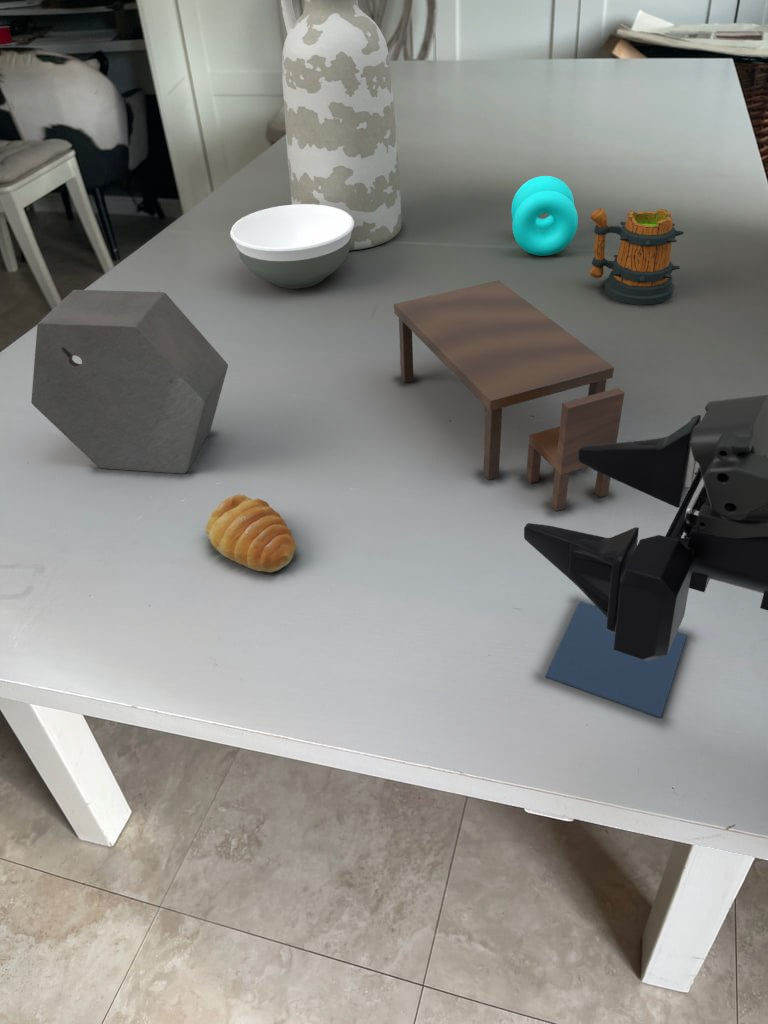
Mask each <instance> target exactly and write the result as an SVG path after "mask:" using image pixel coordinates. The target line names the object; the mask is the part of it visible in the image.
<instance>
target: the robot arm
mask: <svg viewBox="0 0 768 1024" xmlns="http://www.w3.org/2000/svg"><path fill="white" fill-rule="evenodd" d="M704 409H705V413H704V415H703V416H702V414H697V415H694V416H693V417H692V418H691V419H690V420H689V421H688V422H687V423H685V425H683V426H681V427H680V428H679V429H677V430H676V431H674V432H673V433H671V434H670V435H668V436H665V437H664V436H663V437H659V438H651V439H645V440H636V441H625V442H617V443H611V444H600V445H589V446H582V447H581V448H580V449H579V453H578V460H579V462H581V463H583V464H584V465H586V466H588V467H587V468H590V469H592V470H594V471H595V472H596V473H597V472H599V473H601V474H604V475H606V476H608V477H610V478H611V479H613V480H615V481H617V482H619V483H622V484H623V485H626V486H628V487H630V488H633V489H635V490H637V491H639V492H640V493H641V492H642V493H644V494H646V495H648V496H650V497H653V498H655V499H656V500H659V501H661V502H664V503H665V504H668V505H670V506H671V507H674V508H678V509H677V512H676V514H675V515H674V517H673V520H672V521H671V524H670V526H669V528H668V530H667V532H666V534H665V535H661V534H657V535H652V536H649V537H645V538H641V539H640V540H639V541H638V539H639V530H640V527H638V526H637V527H636V526H635V527H633V528H630V529H628V530H626V531H624V532H621V533H618V534H617V535H613V536H610V537H604V536H601V535H596V534H591V533H585V532H582V531H576V530H573V529H567V528H564V527H563V528H562V527H558V526H553V525H548V524H540V523H539V524H538V523H532V522H529V523H526V524H525V526H524V528H523V538H524V540H525V541H526V542H527V543H528V544H529V545H530V546H532V548H534V549H535V550H536V551H537V552H539V554H540V555H542V556H543V557H544V559H546V560H547V561H548V562H550V563H551V564H552V565H553V566H554V567H555V568H556V569H558V570H559V571H560V572H561V573H562V574H563V575H564V576H566V578H568V580H570V581H571V582H572V583H573V584H574V585H575V586H576V587H577V588H578V589H579V590H580V591H581V592H582V593H583V594H584V595H585V596H586V597H587V598H588V599H589V600H590V601H591V603H593V604H594V606H597V608H598V609H599V610H600V611H601V612H602V613H603V614H604V615H605V616H606V617H607V625H606V628H607V630H609V631H610V632H613V633H615V642H614V650H616V651H619V652H622V653H625V654H628V655H631V656H634V657H637V658H640V659H643V660H647V661H650V660H653V659H656V658H659V657H662V656H666V655H667V654H668V652H669V650H670V647H671V645H672V643H673V640H674V638H675V636H676V633H677V632H679V628H680V626H681V624H682V622H683V619H684V617H685V613H686V608H687V601H688V597H689V596H688V595H689V590H690V589H691V590H694V591H699V592H702V593H705V592H706V590H707V587H708V585H709V583H710V580H713V581H717V582H719V583H724V584H727V585H732V586H735V587H739V588H743V589H746V590H750V591H754V592H757V593H760V594H763V595H762V599H761V602H760V606H759V609H761V610H765V611H768V394H761V395H752V396H745V397H737V398H736V397H735V398H728V399H719V400H712V401H708V402H707V403H706V405H705V407H704ZM696 511H697V512H698V514H695V513H696Z"/></svg>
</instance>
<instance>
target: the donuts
mask: <svg viewBox="0 0 768 1024" xmlns="http://www.w3.org/2000/svg"><path fill="white" fill-rule="evenodd" d="M573 195H574V194H573V192H572V190H571V188H570V187H569V185H567V183H566V182H565V181H563V180H561V179H560V178H557V177H555V176H551V175H540V176H535V177H533V178H531V179H529V180H527V181H526V182H524V183H523V184H522V185H521V186H520V187H519V188H518V189H517V191H516V193H515V194H514V196H513V199H512V202H511V208H510V209H511V211H510V212H511V218H512V225H511V226H512V233H513V237H514V240H515V242H516V244H517V245H518V246H519V247H520V248H521V249H522V250H523V251H525V252H527V254H530V255H534V256H537V257H547V256H552V255H555V254H558V253H560V252H561V251H563V250H564V249H565V248H567V247H568V246H569V245H570V243H571V242H572V241H573V239H574V238H575V236H576V233H577V230H578V227H579V226H578V225H579V216H578V212H577V211H578V210H577V209H576V206H575V199H574V196H573ZM543 214H548V216H546V217H544V218H541V217H539V216H541V215H543Z"/></svg>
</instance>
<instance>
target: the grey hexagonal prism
mask: <svg viewBox="0 0 768 1024" xmlns="http://www.w3.org/2000/svg"><path fill="white" fill-rule="evenodd" d="M35 335H36V337H35V350H34V361H33V362H34V363H33V375H32V388H31V389H32V390H31V400H30V401H31V405H32V406H33V407H34V408H36V410H37V411H39V412H40V413H41V414H42V415H43V416H44V417H45V418H46V419H47V420H48V421H49V422H50V423H51V424H52V425H53V426H54V427H55V428H56V429H58V431H60V432H61V433H62V434H63V435H64V436H65V437H66V438H67V439H68V440H69V441H70V442H71V443H72V444H73V445H74V446H75V447H76V448H77V449H78V450H80V451H81V453H83V454H84V455H85V456H86V457H87V458H88V459H89V460H90V461H91V462H92V463H93V464H94V465H95V466H96V467H97V468H99V469H107V470H119V471H121V470H122V471H135V472H150V473H151V472H152V473H164V474H165V473H168V474H181V475H183V474H185V473H187V472H188V471H189V469H190V467H191V466H192V464H193V462H194V460H195V459H196V457H197V456H198V454H199V452H200V450H201V448H202V447H203V445H204V443H205V442H206V440H207V438H208V436H209V435H210V432H211V429H212V427H213V422H214V419H215V416H216V413H217V412H216V411H217V408H218V404H219V400H220V397H221V394H222V390H223V387H224V382H225V379H226V375H227V371H228V368H229V364H228V363H227V362H226V360H225V359H224V358H223V356H221V354H220V353H219V352H218V351H217V350H216V349H215V347H214V346H213V345H212V344H211V343H210V342H209V340H208V339H206V337H205V336H204V335H203V334H202V333H201V332H200V330H199V329H198V328H197V327H196V326H195V325H194V323H193V322H192V321H191V320H190V319H189V318H188V317H187V316H186V315H185V313H184V312H183V311H182V310H181V308H179V307H178V305H177V304H176V303H175V302H174V301H173V300H172V299H171V298H170V296H169V295H168V294H167V292H165V291H136V290H135V291H134V290H99V289H72V291H71V292H70V293H68V295H67V296H65V297H64V298H63V299H62V301H60V302H59V303H58V304H57V305H55V306H54V307H53V308H52V310H51V311H49V312H48V313H47V314H46V315H45V316H44V317H43V318H42V319H41V320H40V321H39V322H38V323H37V327H36V334H35ZM74 356H75V357H78V358H80V360H81V363H78V362H75V361H74V360H73V357H74Z"/></svg>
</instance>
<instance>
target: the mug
mask: <svg viewBox="0 0 768 1024" xmlns="http://www.w3.org/2000/svg"><path fill="white" fill-rule="evenodd" d="M607 216H608V215H607V213H606V211H605V210H604V209H603V208H601V207H599V208H596V209H595V210H594V211H593V212H592V213H591V214H590V219H591V220H592V221H593V222H594V223H595V224H596V225H595V226H594V233H595V238H594V245H593V248H594V249H593V251H594V257H593V258H592V261H591V264H592V266H591V268H590V269H589V271H588V273H589V275H590V277H591V278H595V279H599V278H600V279H601V278H602V277H603V275H604V267H606V268H608V269H611V272H610V273H609V275H608V277H607V279H606V280H605V282H604V289H603V290H604V291H605V294H606V295H607V296H608V297H610V298H612V299H613V300H614V301H617V302H621V303H624V304H630V305H636V306H643V305H644V306H645V305H647V306H648V305H656V304H660V303H664V302H665V301H667V300H669V299H671V298H672V296H673V293H674V289H675V285H674V283H673V275H672V273H673V271H676V270H679V269H680V266H679V265H674V264H673V263H672V261H671V258H672V257H671V255H672V254H671V253H672V243H676V242H677V241H678V239H676V238H677V237H678V236H681V235H684V231H681V230H676V228H675V227H674V226H676V224H675V223H674V220H673V218H672V214H671V213H670V211H668V210H667V209H663V208H658V209H657V211H637V212H636V211H634V210H629V213H628V214H627V217H626V221H621V222H620V225H622V226H619V225H610V226H609V225H608V218H607ZM607 234H616V235H619V240H620V244H619V249H618V252H617V254H613V258H614V260H608V259H606V257H605V247H606V236H607Z"/></svg>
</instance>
